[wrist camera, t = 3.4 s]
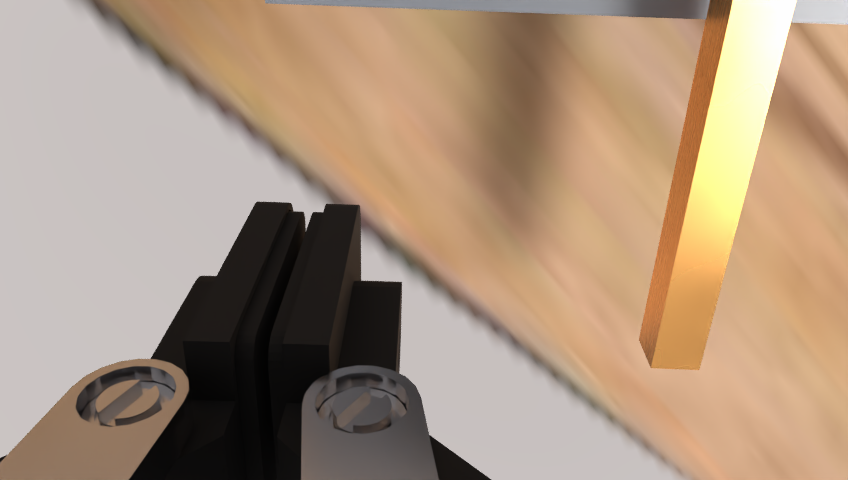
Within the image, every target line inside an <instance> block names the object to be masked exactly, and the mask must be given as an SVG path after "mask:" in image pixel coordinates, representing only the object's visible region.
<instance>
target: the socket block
mask: <svg viewBox="0 0 848 480" xmlns="http://www.w3.org/2000/svg"><path fill="white" fill-rule="evenodd" d="M265 3H273V4H300V5H327V6H355V7H382V8H410V9H437V10H464V11H492V12H519V13H547V14H574V15H601V16H629V17H656V18H684V19H706V17H707V12H708V8H709V3H710V0H265ZM791 22H793V23H821V24H848V0H796V4H795V7H794V11H793V15H792V19H791Z"/></svg>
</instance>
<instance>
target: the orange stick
mask: <svg viewBox="0 0 848 480" xmlns="http://www.w3.org/2000/svg"><path fill="white" fill-rule="evenodd" d="M795 4H796V0H710V3H709V8H708V12H707V17H706V22H705V27H704V32H703V36H702V41H701V46H700V51H699V56H698V60H697V65H696V70H695V75H694V79H693V84H692V89H691V94H690V99H689V103H688V108H687V113H686V118H685V122H684V127H683V132H682V137H681V142H680V146H679V151H678V156H677V161H676V166H675V170H674V175H673V180H672V185H671V189H670V194H669V199H668V204H667V209H666V213H665V218H664V223H663V228H662V232H661V237H660V242H659V247H658V252H657V256H656V261H655V266H654V271H653V276H652V280H651V285H650V290H649V295H648V299H647V304H646V309H645V314H644V319H643V323H642V328H641V333H640V338H639V341H640V343H641V346H642V348H643V350H644V353H645V355H646V358H647V360H648V362H649V365H650V367H651V368H663V369H688V370H699V368H700V365H701V361H702V357H703V353H704V349H705V346H706V342H707V338H708V334H709V330H710V327H711V323H712V319H713V315H714V311H715V308H716V304H717V300H718V296H719V292H720V289H721V285H722V281H723V277H724V273H725V270H726V266H727V262H728V258H729V254H730V251H731V247H732V243H733V239H734V235H735V232H736V228H737V224H738V220H739V216H740V213H741V209H742V205H743V201H744V197H745V194H746V190H747V186H748V182H749V178H750V175H751V171H752V167H753V163H754V159H755V156H756V152H757V148H758V144H759V140H760V137H761V133H762V129H763V125H764V121H765V118H766V114H767V110H768V106H769V102H770V99H771V95H772V91H773V87H774V83H775V80H776V76H777V72H778V68H779V64H780V61H781V57H782V53H783V49H784V45H785V42H786V38H787V34H788V30H789V26H790V23H791V19H792V15H793V11H794V7H795Z"/></svg>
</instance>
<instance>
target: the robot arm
mask: <svg viewBox="0 0 848 480" xmlns="http://www.w3.org/2000/svg"><path fill="white" fill-rule="evenodd" d="M401 299H402V282H384V281H361V218H360V205H343V204H326V206H325V209H324V212H313V213H312V216H311V219H310V222H309V225H308V227H307V230H306V228H305V216H304V212H293V207H292V204H291V203H280V202H279V203H278V202H256V203H255V205H254V207H253V209H252V211H251V213H250V215H249V216H248V218H247V220H246V222H245V224H244V226H243V228H242V229H241V232H240V233H239V235H238V237H237V239H236V241H235V243H234V245H233V246H232V248H231V250H230V252H229V254H228V256H227V258H226V260H225V261H224V263H223V265H222V267H221V269H220V271H219V273H218V275H217V276H200V277H199V278H198V279H197V280H196V281H195V283H194V285H193V286H192V288H191V290H190V292H189V294H188V295H187V297H186V299H185V301H184V302H183V304H182V306H181V307H180V309H179V311H178V312H177V314H176V316H175V318H174V319H173V321H172V323H171V325H170V326H169V328H168V330H167V331H166V333H165V335H164V337H163V338H162V340H161V342H160V344H159V346H158V347H157V349H156V350H155V352H154V354H153V356H152V357H151V359H135V360H128V361H121V362H117V363H114V364H111V365H108V366H105V367H102V368H100V369H98V370H96V371H94V372H92V373H90V374H88V375H86V376H85V377H83V378H82V379H81V380H80V381H79V382H78V383H76V384H75V385H74V386H72V387H71V388H70V389H69V391H68V392H67V393H66V394H65V395H64V396H63V397H62V398H61V399H60V400H59V401H58V402H57V403H56V404H55V405H54V407H52V408H51V410H50V411H49V412H48V413H47V414H46V415H45V416H44V417H43V418H42V419H41V420H40V421H39V422H38V423H37V424H36V425H35V427H33V429H32V430H31V431H30V432H29V433H28V434H27V435H26V436H25V437H24V438H23V439H22V440H21V441H20V442H19V443H18V444H17V446H16V447H15V448H14V449H13V450H12V451H11V452H10V453H9V454H8V455H6V456H4V457H1V458H0V480H491V479H489V478H488V477H487V476H485V475H484V474H483V473H481V472H480V471H479V470H477V469H476V468H474V467H473V466H471V465H470V464H469V463H467V462H466V461H465V460H463V459H462V458H461V457H459V456H458V455H456V454H455V453H454V452H452V451H451V450H449V449H448V448H447V447H445V446H444V445H443V444H441V443H440V442H438V441H437V440H436V439H434V438H433V437H431V436H430V435H429V432H428V428H427V423H426V419H425V414H424V410H423V405H422V400H421V397H420V394H419V392H418V390H417V388H416V386H415V385H414V384H413V383H412V382H411V381H410V380H409V379H408V378H406V377H405V376H403V375H401V374H399V367H400V342H401V303H402V300H401Z"/></svg>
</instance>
